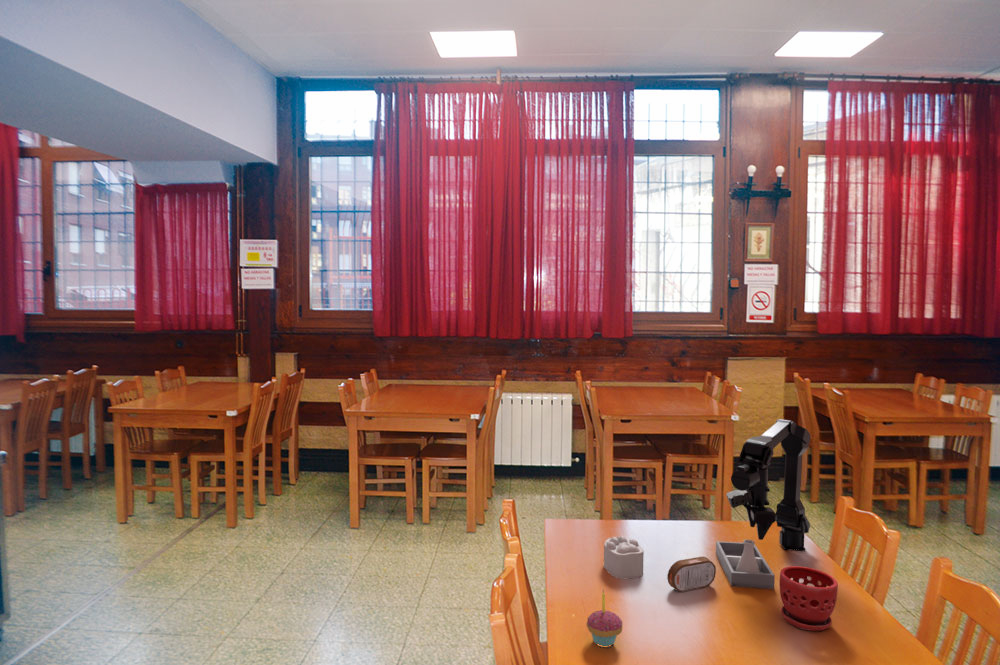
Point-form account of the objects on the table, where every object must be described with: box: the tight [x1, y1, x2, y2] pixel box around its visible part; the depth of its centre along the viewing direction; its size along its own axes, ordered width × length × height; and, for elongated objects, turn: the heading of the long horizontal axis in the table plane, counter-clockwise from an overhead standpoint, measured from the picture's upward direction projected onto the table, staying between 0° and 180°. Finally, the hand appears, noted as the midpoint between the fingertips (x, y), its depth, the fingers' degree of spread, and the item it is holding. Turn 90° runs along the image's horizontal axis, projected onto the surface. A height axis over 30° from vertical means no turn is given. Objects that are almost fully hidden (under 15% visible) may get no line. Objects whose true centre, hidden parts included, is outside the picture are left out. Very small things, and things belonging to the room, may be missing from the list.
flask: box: [736, 539, 760, 573], centre depth 182 cm, size 7×7×10 cm
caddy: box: [715, 540, 776, 590], centre depth 187 cm, size 12×22×4 cm, turn 172°
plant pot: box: [779, 565, 839, 632], centre depth 158 cm, size 13×13×12 cm
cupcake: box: [586, 589, 623, 646], centre depth 149 cm, size 9×8×12 cm
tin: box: [666, 556, 717, 593], centre depth 176 cm, size 15×3×8 cm, turn 111°
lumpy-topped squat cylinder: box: [603, 535, 645, 580], centre depth 188 cm, size 10×13×9 cm
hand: (756, 533), depth 187 cm, fingers open, 9 cm apart
